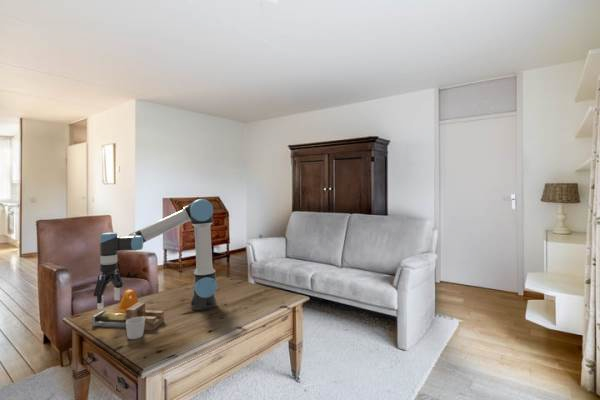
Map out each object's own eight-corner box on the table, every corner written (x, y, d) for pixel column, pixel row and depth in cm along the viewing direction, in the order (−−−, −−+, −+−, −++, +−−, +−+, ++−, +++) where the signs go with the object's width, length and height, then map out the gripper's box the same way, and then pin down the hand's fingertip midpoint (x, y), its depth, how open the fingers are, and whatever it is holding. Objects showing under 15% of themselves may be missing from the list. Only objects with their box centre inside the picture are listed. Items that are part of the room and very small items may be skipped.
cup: (132, 331, 157) (132, 314, 157) (149, 331, 158) (149, 314, 158) (122, 341, 146) (122, 323, 146) (140, 341, 147) (140, 323, 147)
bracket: (123, 316, 176) (124, 294, 176) (118, 313, 180) (118, 291, 180) (143, 311, 184) (143, 290, 184) (137, 308, 189) (138, 287, 188)
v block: (135, 321, 169) (135, 311, 169) (126, 327, 161) (126, 317, 161) (102, 320, 169) (103, 310, 169) (92, 326, 161) (92, 316, 161)
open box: (163, 321, 170) (164, 303, 170) (153, 329, 159) (154, 310, 159) (137, 320, 170) (137, 302, 170) (125, 328, 159) (126, 309, 159)
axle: (133, 320, 167) (133, 312, 167) (128, 324, 163) (128, 315, 163) (106, 319, 168) (106, 311, 167) (101, 323, 163) (101, 314, 163)
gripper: (116, 258, 177) (116, 296, 178) (84, 268, 153) (85, 313, 153) (129, 258, 177) (129, 296, 178) (100, 268, 152) (100, 313, 153)
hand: (109, 304), depth 165 cm, fingers open, 13 cm apart
